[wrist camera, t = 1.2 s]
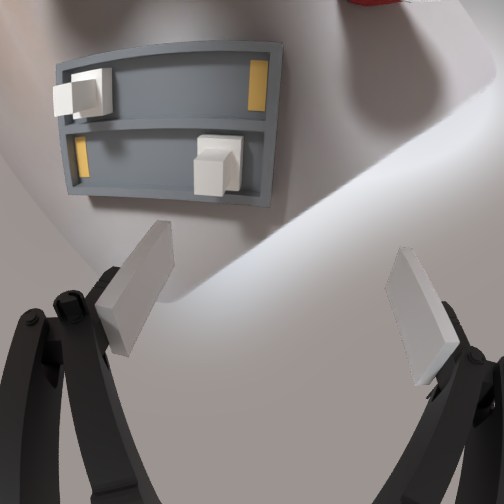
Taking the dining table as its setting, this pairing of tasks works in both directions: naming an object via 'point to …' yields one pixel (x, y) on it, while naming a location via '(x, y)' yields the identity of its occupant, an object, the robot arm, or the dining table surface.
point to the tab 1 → (85, 94)
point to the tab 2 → (218, 164)
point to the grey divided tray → (175, 119)
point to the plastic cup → (385, 2)
